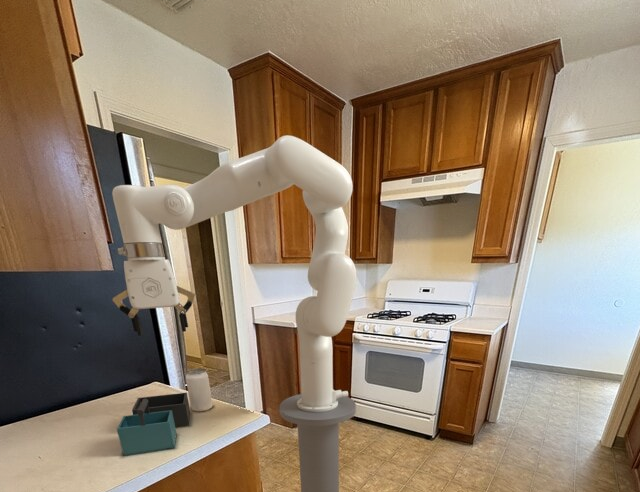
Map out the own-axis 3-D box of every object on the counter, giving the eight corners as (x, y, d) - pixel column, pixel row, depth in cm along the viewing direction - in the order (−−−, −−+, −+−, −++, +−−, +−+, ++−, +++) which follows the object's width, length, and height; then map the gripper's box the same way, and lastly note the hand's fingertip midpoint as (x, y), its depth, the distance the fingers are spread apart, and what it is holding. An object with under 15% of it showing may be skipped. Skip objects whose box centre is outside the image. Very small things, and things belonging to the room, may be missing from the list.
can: (198, 413, 106) (191, 375, 102) (187, 408, 110) (180, 371, 106) (216, 407, 111) (211, 370, 106) (206, 403, 115) (200, 367, 110)
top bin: (176, 434, 93) (168, 395, 89) (174, 448, 86) (166, 406, 82) (130, 441, 90) (119, 401, 86) (123, 455, 83) (112, 413, 79)
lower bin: (190, 413, 107) (186, 392, 104) (189, 426, 98) (185, 403, 96) (143, 418, 103) (138, 397, 101) (137, 433, 95) (131, 410, 92)
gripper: (96, 254, 71) (119, 339, 78) (186, 251, 76) (201, 331, 83) (105, 255, 78) (125, 333, 85) (187, 252, 82) (200, 327, 89)
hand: (162, 332), depth 84 cm, fingers open, 9 cm apart
